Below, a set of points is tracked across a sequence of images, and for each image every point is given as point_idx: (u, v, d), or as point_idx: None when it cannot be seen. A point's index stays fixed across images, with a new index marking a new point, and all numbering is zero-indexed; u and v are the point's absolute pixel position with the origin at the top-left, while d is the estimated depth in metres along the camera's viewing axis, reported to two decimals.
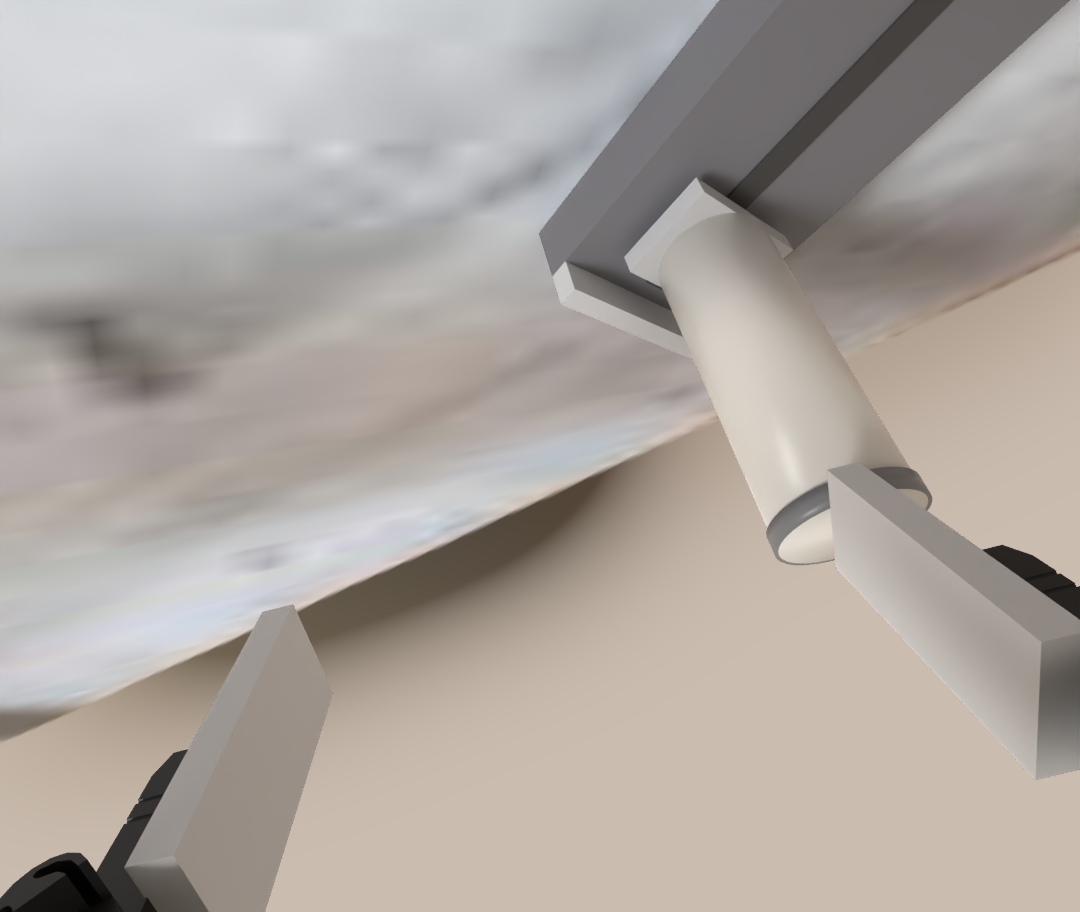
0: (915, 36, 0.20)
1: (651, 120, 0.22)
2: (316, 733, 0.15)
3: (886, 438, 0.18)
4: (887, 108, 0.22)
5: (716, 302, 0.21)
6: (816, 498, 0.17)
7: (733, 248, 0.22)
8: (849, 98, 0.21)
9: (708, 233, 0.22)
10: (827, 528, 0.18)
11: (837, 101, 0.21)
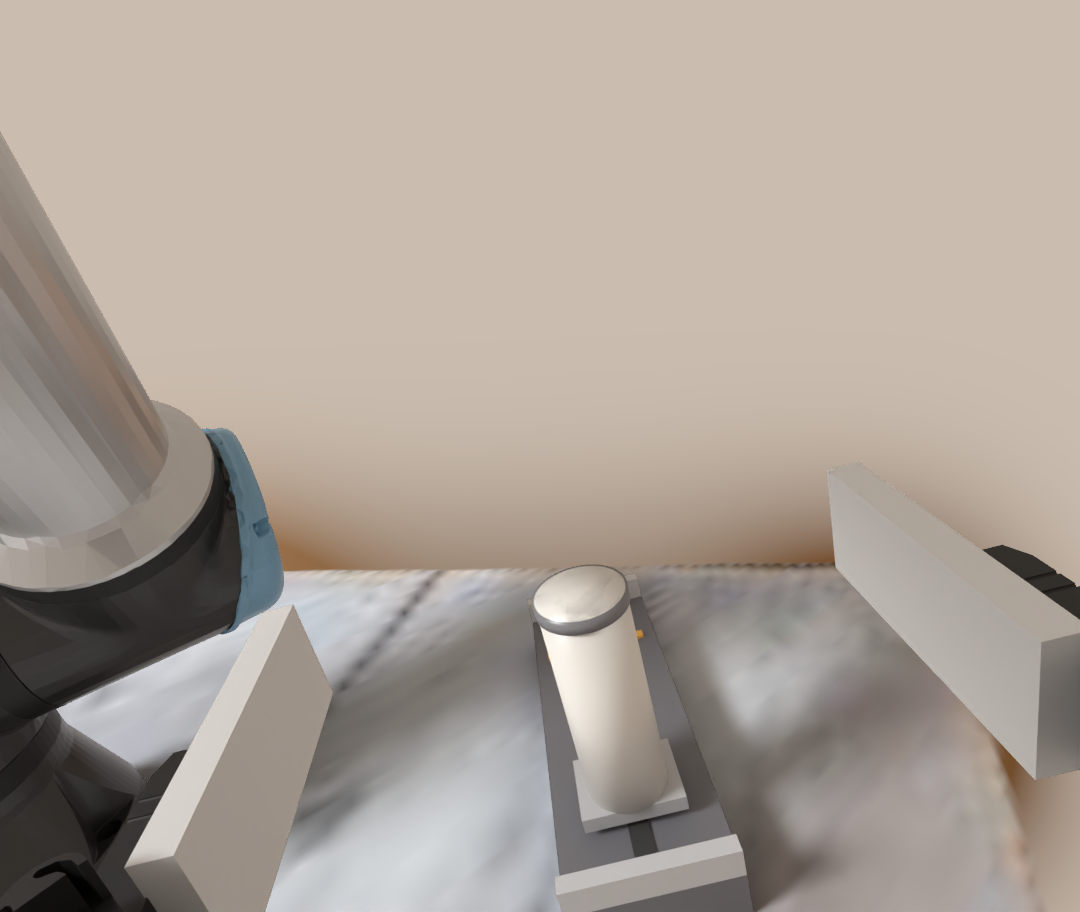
0: None
1: None
2: (316, 733, 0.15)
3: None
4: None
5: None
6: None
7: None
8: None
9: None
10: (559, 600, 0.29)
11: None
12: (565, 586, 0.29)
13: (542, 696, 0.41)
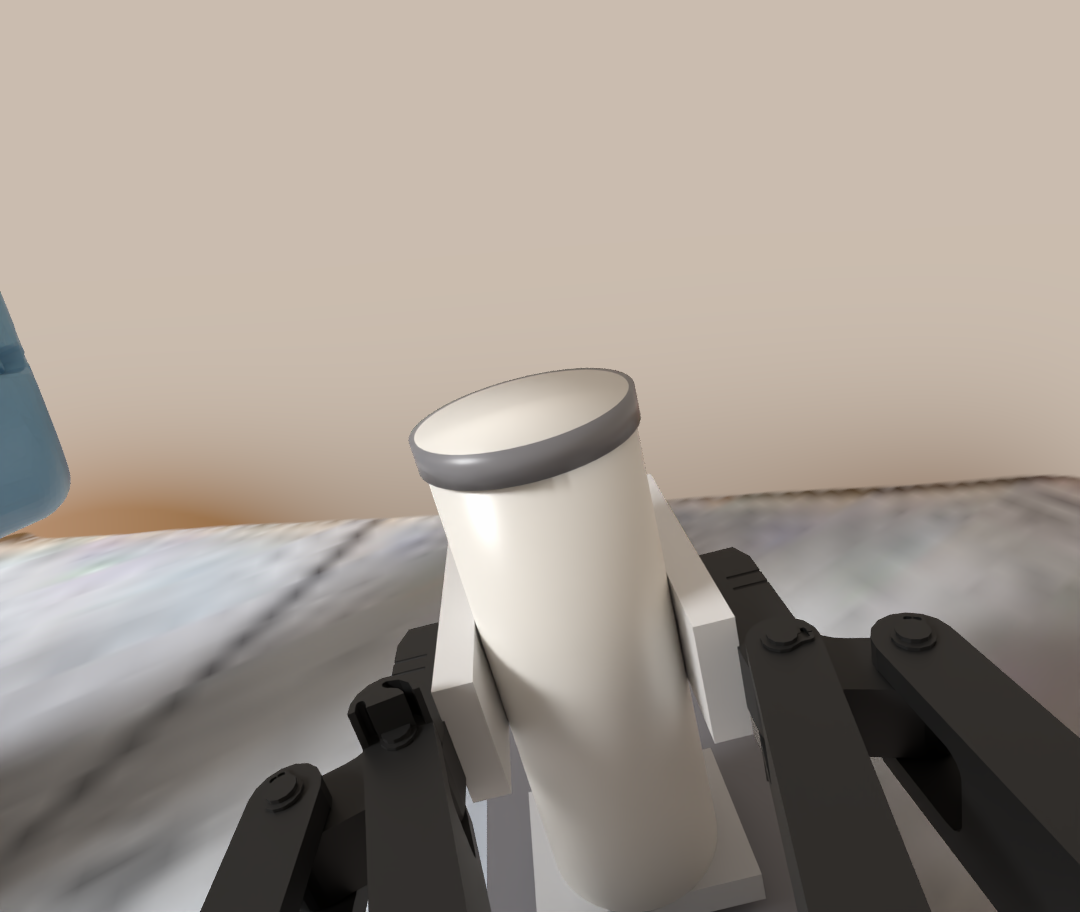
0: None
1: None
2: None
3: None
4: None
5: None
6: None
7: None
8: None
9: None
10: (474, 423, 0.12)
11: None
12: (492, 403, 0.13)
13: None
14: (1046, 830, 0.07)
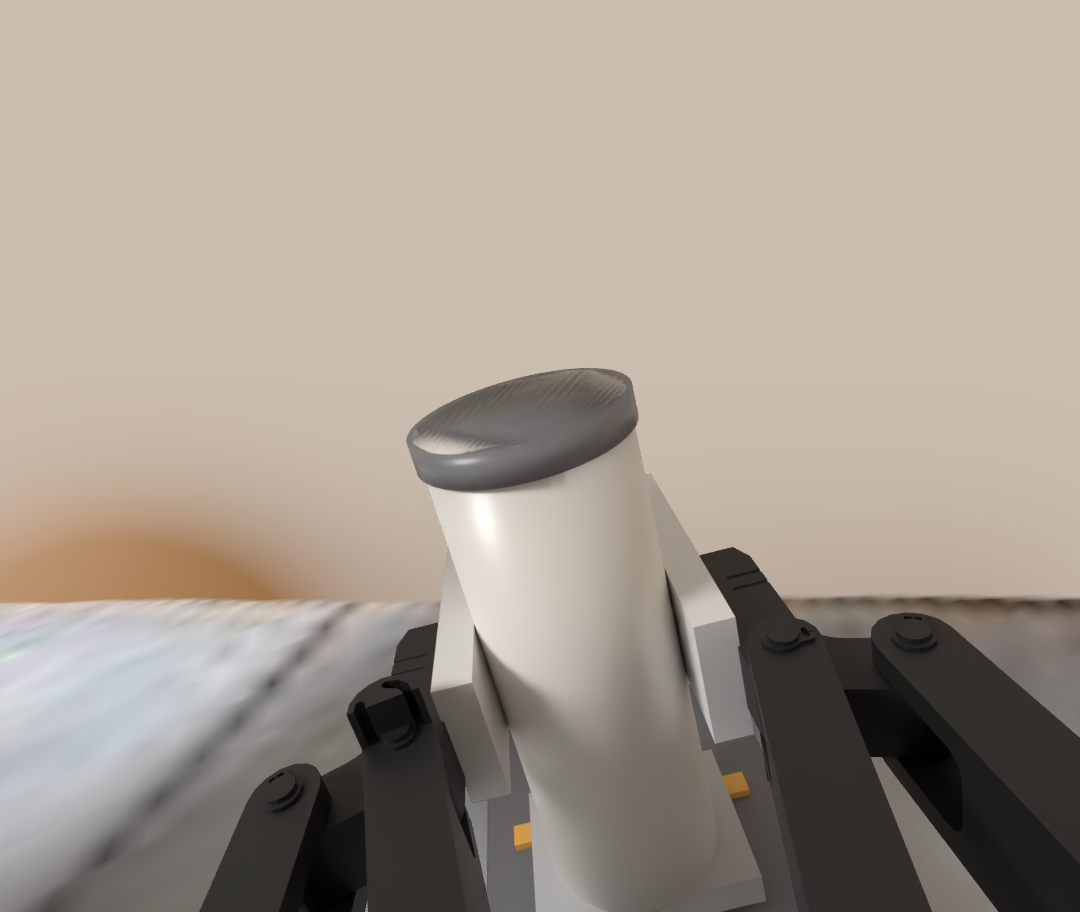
0: None
1: None
2: None
3: None
4: None
5: None
6: None
7: None
8: None
9: None
10: (471, 423, 0.12)
11: None
12: (490, 403, 0.13)
13: None
14: (1047, 830, 0.07)
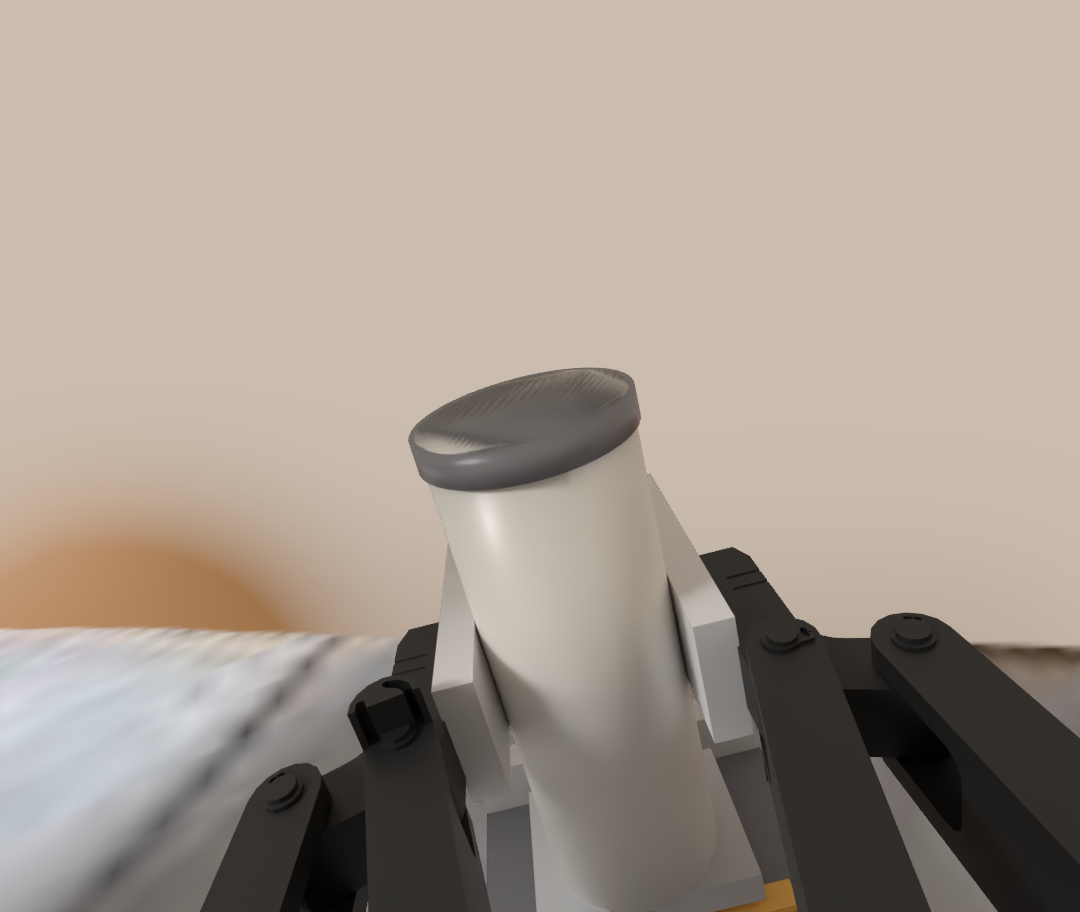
0: None
1: None
2: None
3: None
4: None
5: None
6: None
7: None
8: None
9: None
10: (473, 422, 0.12)
11: None
12: (492, 403, 0.13)
13: None
14: (1046, 830, 0.07)
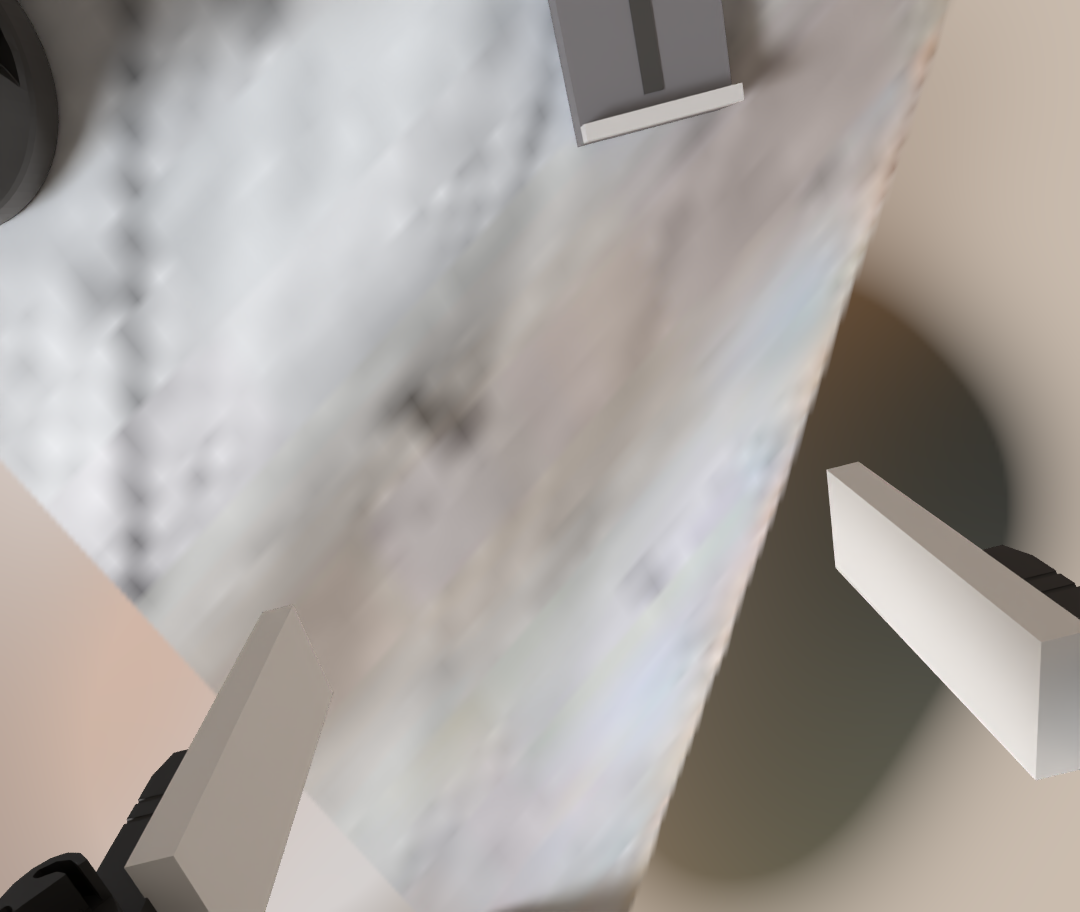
0: None
1: (555, 19, 0.34)
2: (316, 733, 0.15)
3: None
4: None
5: None
6: None
7: None
8: None
9: None
10: None
11: None
12: None
13: None
14: None
